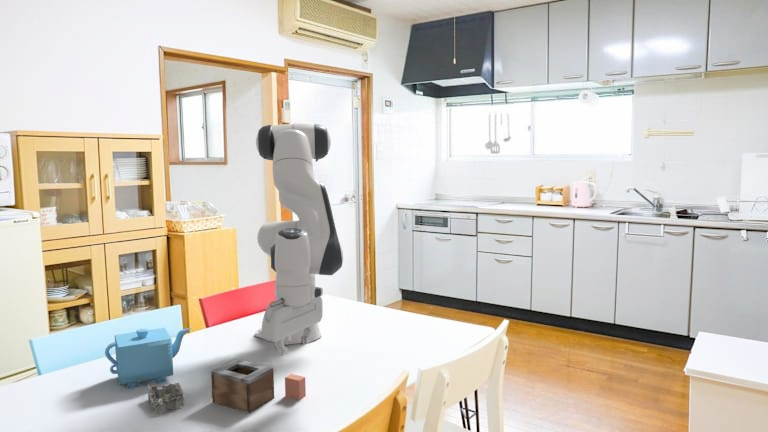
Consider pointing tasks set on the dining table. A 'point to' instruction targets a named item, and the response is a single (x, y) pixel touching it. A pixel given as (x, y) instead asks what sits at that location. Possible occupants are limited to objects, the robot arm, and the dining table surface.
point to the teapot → (144, 355)
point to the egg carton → (166, 397)
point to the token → (295, 386)
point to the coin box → (242, 385)
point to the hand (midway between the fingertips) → (294, 348)
